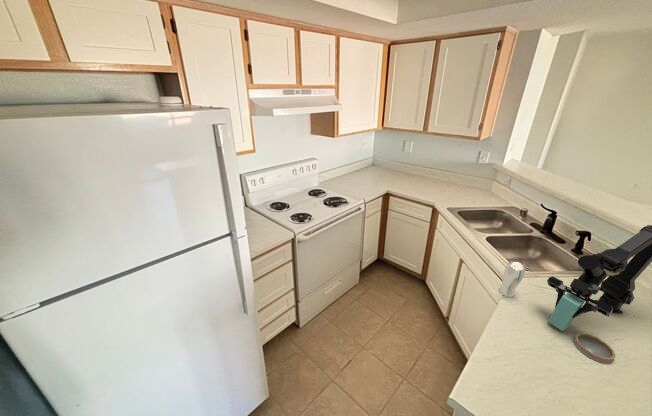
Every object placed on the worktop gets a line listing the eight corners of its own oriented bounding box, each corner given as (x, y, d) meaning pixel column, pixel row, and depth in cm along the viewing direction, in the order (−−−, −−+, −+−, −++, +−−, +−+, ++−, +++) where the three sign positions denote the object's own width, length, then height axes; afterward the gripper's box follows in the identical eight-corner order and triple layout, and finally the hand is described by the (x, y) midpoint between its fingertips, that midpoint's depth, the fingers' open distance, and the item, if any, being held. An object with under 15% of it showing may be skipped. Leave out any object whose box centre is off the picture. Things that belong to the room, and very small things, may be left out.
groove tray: (595, 338, 98) (598, 334, 97) (621, 365, 89) (624, 361, 88) (565, 335, 99) (567, 331, 98) (588, 361, 89) (591, 357, 89)
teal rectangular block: (554, 316, 105) (568, 292, 99) (568, 326, 101) (584, 301, 95) (547, 321, 103) (561, 296, 97) (562, 331, 99) (578, 306, 93)
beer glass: (495, 292, 119) (505, 265, 113) (499, 285, 124) (509, 259, 118) (512, 300, 115) (524, 273, 109) (516, 292, 120) (528, 266, 113)
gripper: (558, 259, 101) (533, 290, 101) (625, 289, 86) (596, 325, 86) (560, 269, 108) (537, 298, 108) (622, 299, 93) (595, 333, 93)
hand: (563, 312), depth 98 cm, fingers closed on teal rectangular block, 5 cm apart
